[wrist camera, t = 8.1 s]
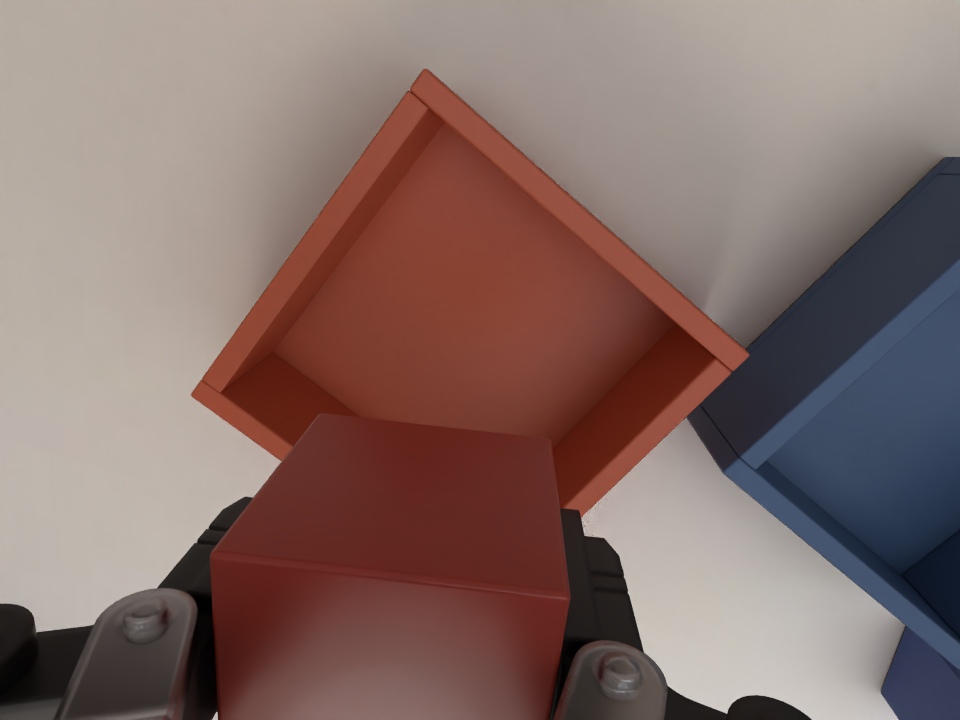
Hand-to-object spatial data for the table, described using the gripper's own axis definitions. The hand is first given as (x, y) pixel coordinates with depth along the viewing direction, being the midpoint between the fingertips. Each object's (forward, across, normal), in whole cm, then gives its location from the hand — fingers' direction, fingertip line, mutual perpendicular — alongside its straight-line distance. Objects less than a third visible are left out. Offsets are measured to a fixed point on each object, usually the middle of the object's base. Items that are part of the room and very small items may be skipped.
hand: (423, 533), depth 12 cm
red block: (0, 0, 0) cm, 0 cm away
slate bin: (+15, -19, 0) cm, 24 cm away
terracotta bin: (+15, 0, 0) cm, 15 cm away
